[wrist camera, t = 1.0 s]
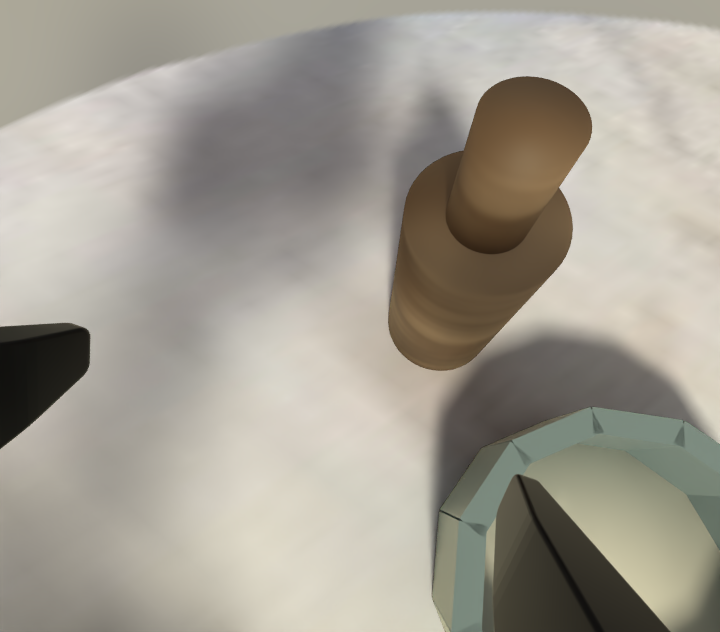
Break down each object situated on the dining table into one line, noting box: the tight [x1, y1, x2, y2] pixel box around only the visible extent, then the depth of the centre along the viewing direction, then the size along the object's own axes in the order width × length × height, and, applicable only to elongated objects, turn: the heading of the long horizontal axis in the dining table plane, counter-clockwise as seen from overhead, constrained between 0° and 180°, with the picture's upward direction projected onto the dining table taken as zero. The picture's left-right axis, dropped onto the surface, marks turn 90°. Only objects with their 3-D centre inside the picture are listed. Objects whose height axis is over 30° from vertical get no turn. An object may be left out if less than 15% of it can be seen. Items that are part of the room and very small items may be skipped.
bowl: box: [432, 407, 720, 632], centre depth 17 cm, size 13×13×4 cm
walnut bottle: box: [388, 76, 592, 371], centre depth 17 cm, size 5×5×14 cm
